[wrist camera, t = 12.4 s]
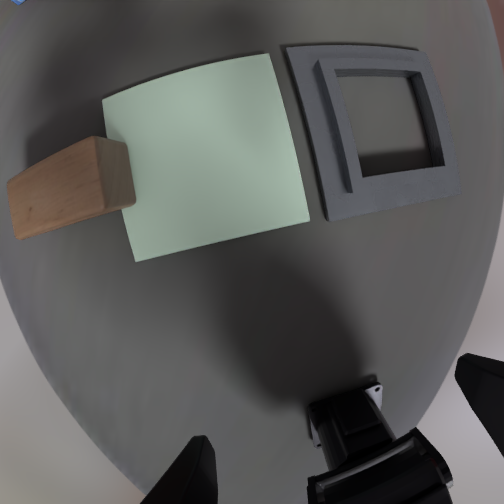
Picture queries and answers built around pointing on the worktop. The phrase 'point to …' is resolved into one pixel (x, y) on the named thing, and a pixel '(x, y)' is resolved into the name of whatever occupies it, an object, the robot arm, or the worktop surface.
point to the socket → (341, 136)
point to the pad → (207, 156)
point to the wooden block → (71, 187)
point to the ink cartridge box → (18, 1)
